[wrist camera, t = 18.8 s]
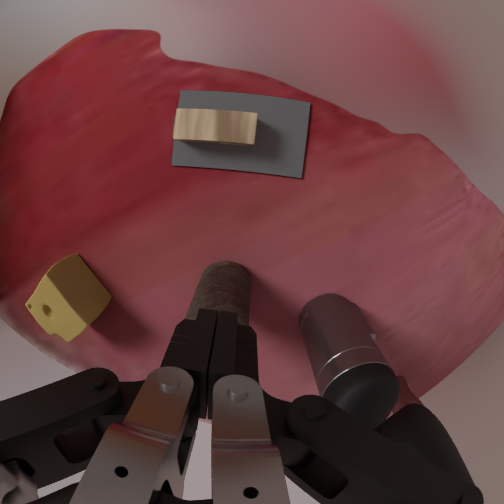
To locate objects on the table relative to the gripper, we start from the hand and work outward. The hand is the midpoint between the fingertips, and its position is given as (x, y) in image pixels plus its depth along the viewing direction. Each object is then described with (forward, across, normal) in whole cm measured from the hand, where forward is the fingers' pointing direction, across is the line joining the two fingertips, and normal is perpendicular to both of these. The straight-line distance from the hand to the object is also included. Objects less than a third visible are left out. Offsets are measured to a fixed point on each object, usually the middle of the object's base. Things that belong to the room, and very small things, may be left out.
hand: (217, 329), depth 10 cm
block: (+27, -1, -11) cm, 29 cm away
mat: (+29, +1, -11) cm, 31 cm away
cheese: (+29, +27, +16) cm, 43 cm away
